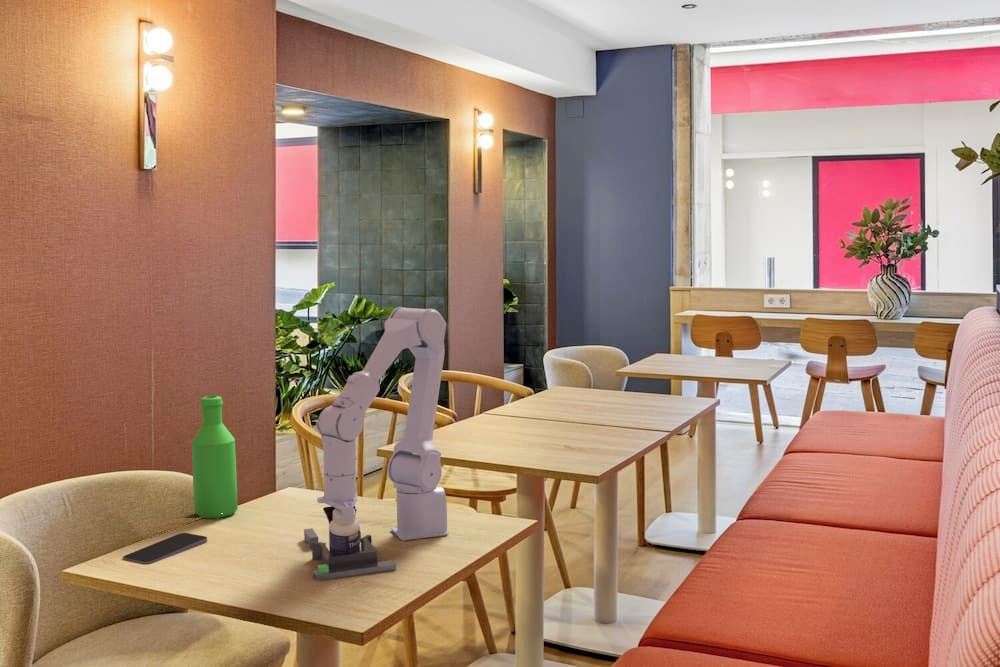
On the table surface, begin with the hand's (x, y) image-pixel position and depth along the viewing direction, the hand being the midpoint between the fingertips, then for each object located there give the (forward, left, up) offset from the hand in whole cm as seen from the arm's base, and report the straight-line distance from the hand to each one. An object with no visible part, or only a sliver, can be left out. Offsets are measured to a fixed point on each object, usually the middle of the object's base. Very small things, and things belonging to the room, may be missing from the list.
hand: (340, 546), depth 177 cm
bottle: (+18, -38, -2) cm, 42 cm away
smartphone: (+29, -17, -3) cm, 34 cm away
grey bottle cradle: (-1, +4, -2) cm, 4 cm away
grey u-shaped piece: (-1, -10, -2) cm, 10 cm away
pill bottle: (0, +2, -2) cm, 3 cm away
